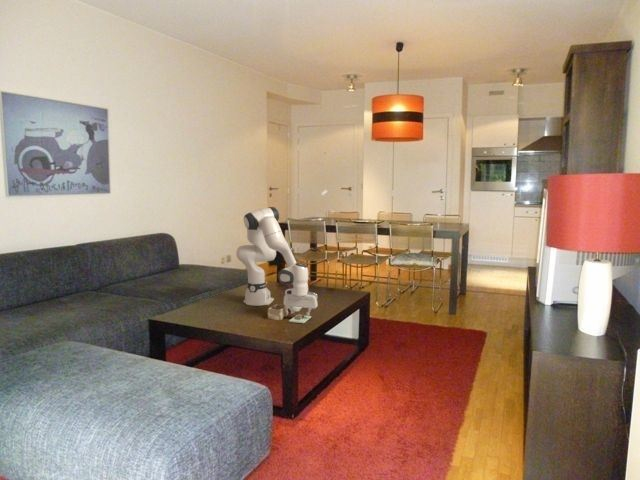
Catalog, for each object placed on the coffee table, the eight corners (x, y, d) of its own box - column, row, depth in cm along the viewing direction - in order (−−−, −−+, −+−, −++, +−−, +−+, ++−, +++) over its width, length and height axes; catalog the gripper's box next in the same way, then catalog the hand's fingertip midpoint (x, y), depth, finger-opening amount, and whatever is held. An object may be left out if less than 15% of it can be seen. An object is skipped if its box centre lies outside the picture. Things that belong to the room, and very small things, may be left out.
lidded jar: (306, 309, 314) (306, 295, 313) (297, 313, 305) (297, 298, 304) (292, 307, 319) (292, 293, 318) (283, 310, 310) (283, 296, 309)
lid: (297, 317, 297) (297, 310, 297) (311, 318, 295) (311, 312, 294) (289, 323, 285) (289, 316, 285) (303, 324, 282) (303, 317, 282)
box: (275, 313, 303) (275, 304, 303) (287, 315, 301) (288, 305, 300) (267, 318, 292) (267, 309, 291) (280, 320, 289) (280, 310, 289)
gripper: (319, 291, 288) (318, 314, 289) (286, 288, 294) (286, 311, 296) (315, 293, 282) (315, 317, 283) (282, 290, 288) (282, 314, 290)
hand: (300, 314), depth 289 cm, fingers open, 8 cm apart
